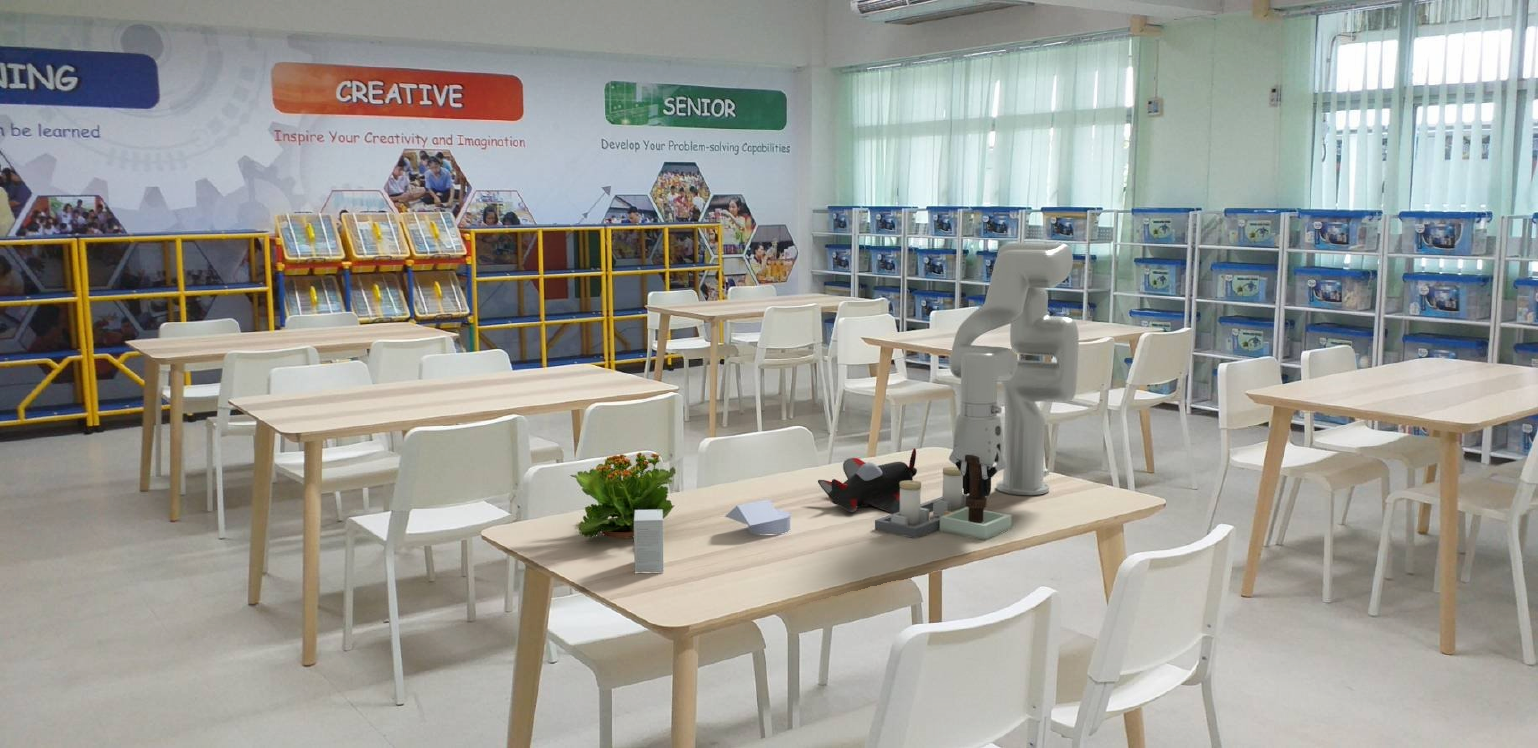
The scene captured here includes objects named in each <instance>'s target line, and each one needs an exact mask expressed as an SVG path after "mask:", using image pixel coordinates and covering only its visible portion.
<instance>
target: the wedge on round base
mask: <svg viewBox="0 0 1538 748" xmlns="http://www.w3.org/2000/svg"><path fill="white" fill-rule="evenodd" d="M724 517H725V518H727V519H729V520H734V521H736V522H739V523H742V524H745V525H747V527H748V528H747V529H749V530H748V532H750V533H751V532H752V533H751V534H754V533H755V535H759V534H780V535H783V534H782V533H784V534H786V533H785V532H787V533H789V532H790V531H791V513H790V512H789V511H787V510H784V509H777V508H776V507H775V506H774V504H773V503H772V501H771V499H770V498H768V499H764V500H763V499H762V500H757V501H752V502H746V503H743V504H737V505H736V506H735V507H734V508H732V509H731V511H729V512H728V513H727V514H726V515H725V516H724ZM789 530H790V531H789ZM788 531H789V532H788Z"/></svg>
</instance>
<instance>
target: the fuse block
mask: <svg viewBox="0 0 1538 748" xmlns="http://www.w3.org/2000/svg"><path fill="white" fill-rule="evenodd" d="M967 496H969V494H964V493H962V509H963V508H965V507H967V506H966V497H967ZM950 504H951V502H950V501H945V500H942V496H940V497H937V498H934V499H931V500H928V501H925V502H923V503H920V525H917V526H914V527H912V526H907V517H904V516H899V513H900V512H897V513H894V514H892V513H890V514H888V515H886V516H883V517H880V518H876V519H875V520H874V530H875V531H882V532H886V533H890V534H894V535H898V536H899V535H900V536H903V537H908V538H913V539H917V538H920V537H922V536H925V535H927V534H929V533H933V532H935V531H937V530H940V517H941V516H944V515H947V514H949V513H952V512H950ZM983 510H986V507H985V508H984V509H983ZM931 512H932V516H935V517H936V518H933V519H930V513H931ZM954 512H955V511H954Z"/></svg>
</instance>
